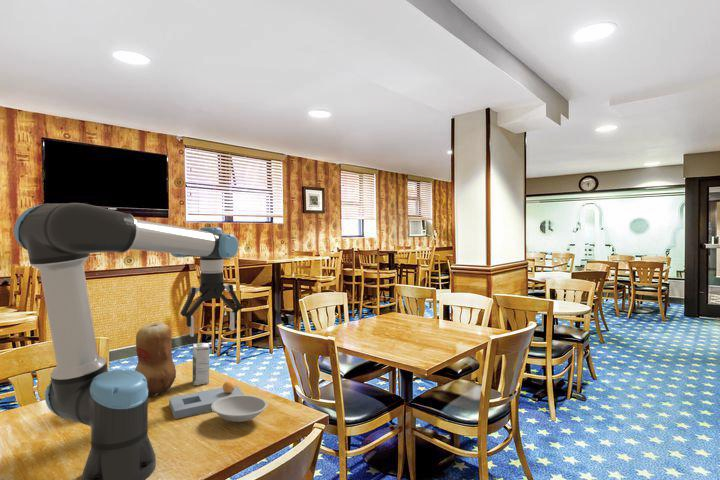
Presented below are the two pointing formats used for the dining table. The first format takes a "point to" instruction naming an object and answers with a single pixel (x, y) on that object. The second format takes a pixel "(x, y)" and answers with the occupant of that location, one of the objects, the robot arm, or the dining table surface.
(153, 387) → the butternut squash
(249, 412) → the dish
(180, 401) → the hole plate
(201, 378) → the syrup box
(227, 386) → the ball
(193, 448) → the dining table surface
